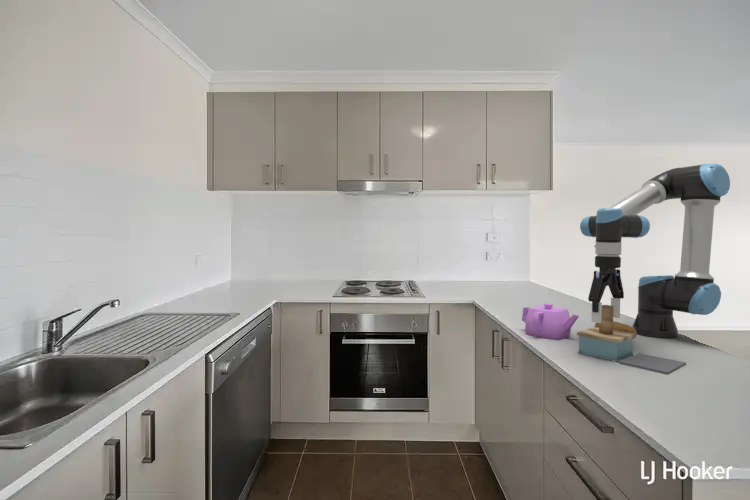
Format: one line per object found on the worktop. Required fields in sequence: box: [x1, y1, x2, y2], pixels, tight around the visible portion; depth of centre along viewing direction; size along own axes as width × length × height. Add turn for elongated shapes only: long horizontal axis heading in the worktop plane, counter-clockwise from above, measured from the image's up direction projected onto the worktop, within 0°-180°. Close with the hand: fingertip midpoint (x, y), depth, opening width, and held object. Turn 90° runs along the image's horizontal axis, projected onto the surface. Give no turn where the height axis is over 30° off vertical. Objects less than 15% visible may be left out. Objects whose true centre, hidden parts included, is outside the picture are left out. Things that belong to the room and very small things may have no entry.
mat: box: [619, 352, 687, 375], centre depth 134 cm, size 15×13×1 cm
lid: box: [576, 304, 637, 343], centre depth 145 cm, size 13×13×10 cm
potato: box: [594, 320, 638, 340], centre depth 159 cm, size 10×14×8 cm
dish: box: [578, 335, 634, 362], centre depth 145 cm, size 12×12×6 cm
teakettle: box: [521, 302, 580, 341], centre depth 172 cm, size 17×17×12 cm
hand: (605, 319), depth 145 cm, fingers open, 13 cm apart
